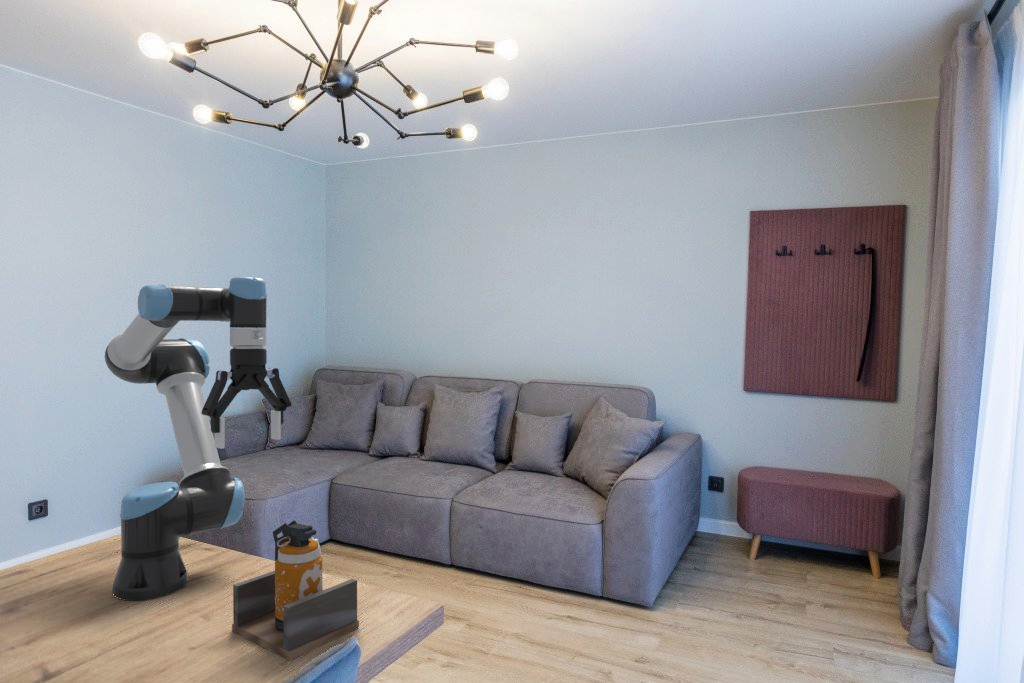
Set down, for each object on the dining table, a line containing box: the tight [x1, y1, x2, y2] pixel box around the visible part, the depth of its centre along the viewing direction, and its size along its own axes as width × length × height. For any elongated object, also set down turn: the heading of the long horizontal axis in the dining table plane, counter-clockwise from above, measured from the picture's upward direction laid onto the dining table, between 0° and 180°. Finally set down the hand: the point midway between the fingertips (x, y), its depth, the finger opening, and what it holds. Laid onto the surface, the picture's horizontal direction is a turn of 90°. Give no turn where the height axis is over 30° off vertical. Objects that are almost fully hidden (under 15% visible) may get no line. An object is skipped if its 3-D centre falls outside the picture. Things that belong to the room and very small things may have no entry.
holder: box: [231, 570, 360, 661], centre depth 130 cm, size 19×16×10 cm
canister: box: [272, 520, 323, 630], centre depth 129 cm, size 9×11×20 cm
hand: (248, 443), depth 144 cm, fingers open, 13 cm apart
